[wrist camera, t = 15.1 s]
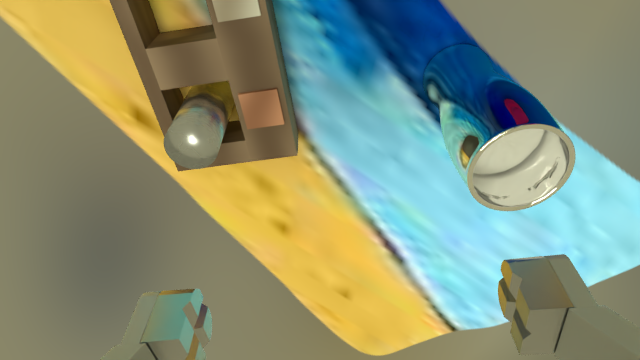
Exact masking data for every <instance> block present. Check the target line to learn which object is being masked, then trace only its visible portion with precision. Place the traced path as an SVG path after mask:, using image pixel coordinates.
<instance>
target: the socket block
mask: <svg viewBox="0 0 640 360" xmlns="http://www.w3.org/2000/svg"><path fill="white" fill-rule="evenodd" d="M206 2H207V6H208V9H209V13H210V16H211V20H212V24H213V25H208V26H202V27H196V28H189V29H183V30H176V31H170V32H164V33H160V32H159V29H158V27H157V24H156V21H155V18H154V15H153V12H152V10H151V7H150V4H149V1H148V0H110V3H111V5H112V8H113V10H114V13H115V15H116V18H117V20H118V23H119V25H120V28H121V30H122V33H123V35H124V38H125V40H126V43H127V45H128V47H129V50H130V52H131V55H132V57H133V60H134V62H135V65H136V67H137V70H138V72H139V75H140V77H141V80H142V82H143V85H144V87H145V90H146V92H147V95H148V97H149V100H150V102H151V105H152V107H153V110H154V112H155V115H156V117H157V120H158V122H159V125H160V127H161V130H162V132H163V135H164V137H165V135H166V133H167V131H168V129H169V127H170V125H171V124H172V122H173V120H174V118H175V116H176V114H177V113H178V111H179V109H180V107H181V105H182V103H183V101H184V100H183V97H182V95H181V92H180V89H179V88H180V87H187V86H194V85H201V84H208V83H214V82H221V81H228V80H229V84H230V88H231V91H232V95H233V98H234V102H235V105H236V109H237V112H238V116H239V120H240V121H233V122H228V124H227V127H226V130H225V133H224V136H223V140H222V143H221V146H220V149H219V152H218V155H217V157H216V159H215V161H214V162H213V163H212V164H210V165H209V166H207V167H214V166H221V165H229V164H236V163H244V162H251V161H259V160H266V159H274V158H281V157H289V156H296V155H297V152H298V129H297V124H296V119H295V114H294V109H293V104H292V99H291V94H290V89H289V84H288V79H287V74H286V69H285V64H284V59H283V54H282V48H281V43H280V38H279V33H278V28H277V23H276V18H275V13H274V8H273V3H272V0H206ZM175 165H176V167H177V170H178V171H184V170H191V169H190V168H186V167H183V166H181V165H179V164H177V163H175ZM204 168H206V167H204Z"/></svg>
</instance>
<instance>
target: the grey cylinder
mask: <svg viewBox="0 0 640 360" xmlns="http://www.w3.org/2000/svg"><path fill="white" fill-rule="evenodd" d="M234 103H235V102H234V98H233V95H232V91H231V88H230V84H229V82H227V81H221V82H214V83H208V84H201V85H194V86H192V87H191V89H190V90H189V92H188V94H187V96H186V98H185V100H184V101H183V103H182V105H181V107H180V109H179V111H178V113H177V114H176V116H175V118H174V120H173V122H172V124H171V125H170V127H169V129H168V131H167V133H166V135H165V137H164V148H165V151H166V153H167V154H168V156H169V157H170V158H171V159H172V160H173V161H174V162H175V163H177V164H179V165H181V166H183V167H186V168H190V169H200V168H204V167H207V166H209V165H210V164H212V163H213V162H214V161H215V159H216V157H217V155H218V152H219V149H220V146H221V143H222V140H223V136H224V133H225V130H226V127H227V124H228V121H229V118H230V115H231V112H232V109H233V106H234Z"/></svg>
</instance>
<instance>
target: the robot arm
mask: <svg viewBox="0 0 640 360" xmlns="http://www.w3.org/2000/svg"><path fill="white" fill-rule="evenodd" d="M501 272H502V274H503V278H502V279H501V280H500V281H499V285H498V296H499V302H500V306H501V310H502V312H503V315H504V317H505V318H506V319H508V320H509V321H510V322H512V325H511V331H510V333H511V335H512V338H513V340H514V343H515V345H516V347H517V350H518V352H519V355H534V354H555V356H556V357H557V358H558V359H559V360H640V327H638V326H636V325H635V324H633V323H631V322H630V321H628V320H627V319H625V318H624V317H622V316H621V315H619V314H617V313H616V312H614V311H613V310H611V309H609V308H608V307H606V306H598V304H597V303H596V301H595V299H594V298H593V296H592V295H591V293H590V291H589V290H588V288H587V286H586V285H585V283H584V282H583V280H582V278H581V277H580V275H579V274H578V272H577V270H576V269H575V267H574V265H573V264H572V262H571V261H570V259H569V257H567V256H566V255H565V254H563V255H552V256H544V257H542V256H539V257H529V258H520V259H510V260H504V261H503V262H502V265H501ZM202 300H203V296H202V293H201V292H200V290H199V289H186V290H171V291H158V292H145V293H143V295H142V296H141V297H140V298H139V301H138V303H137V305H136V308H135V310H134V313H133V315H132V318H131V320H130V323H129V325H128V328H127V330H126V333H125V335H124V337H123V340H122V342H121V345H116V346H114V347H113V348H112V349H111V350H110V351H109V352H108V353H107V354H105V355H104V356H103V357H102V358H101V359H100V360H206V354H205V352H204V350H203V348H204V347H205V346H206V344H207V343H208V342H209V341H210V338H211V332H212V318H211V313H210V311H209V308H208V307H207V306H205V305H204V304H202Z"/></svg>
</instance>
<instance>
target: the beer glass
mask: <svg viewBox="0 0 640 360" xmlns="http://www.w3.org/2000/svg"><path fill="white" fill-rule="evenodd" d="M423 88H424V92H425V94H426V96H427V97H428V99H429V100H430V101H431V102H432V103H433V104H434V105H435V106H436V107H437V108H438V109H439V113H440V121H441V128H442V134H443V138H444V143H445V146H446V149H447V151H448V154H449V156H450V158H451V160H452V162H453V164H454V166H455V168H456V170H457V171H458V173H459V175H460V176H461V178H462V179H463V181H464V182H465V184H466V185H467V187H468V188H469V190H470V192H471V194H472V196H473V197H474V198H475V199H476V200H477V201H478V202H479V203H480V204H482V205H484V206H486V207H488V208H491V209H494V210H499V211H516V210H521V209H526V208H529V207H532V206H534V205H537V204H539V203H541V202H543V201H545V200H546V199H548V198H549V197H551V196H552V195H553V194H555V193H556V192H557V191H558V190H559V189H560V188H561V187H562V186H563V185H564V184H565V182H566V181H567V179H568V178H569V176H570V174H571V172H572V170H573V167H574V163H575V149H574V146H573V143H572V141H571V140H570V138H569V137H568V136H567V135H566V134H565V133H564V131H563V130H562V128H561V127H560V126H559V124H558V123H557V121H556V120H555V119H554V117H553V116H552V115H551V113H550V112H549V111H548V110H547V109H546V108H545V106H544V105H543V104H542V103H541V102H540V101H539V100H538V99H537V98H536V97H535V96H534V95H532V94H531V93H530V92H529V91H528V90H526V89H525V88H523V87H522V86H520V85H519V84H517V83H515V82H513V81H511V80H510V79H508V78H506V77H504V76H502V75H500V74H498V73H496V72H495V71H494V69H493V66H492V63H491V61H490V59H489V57H488V56H487V54H486V53H485V52H484V51H483V50H481V49H480V48H478V47H476V46H473V45H470V44H457V45H453V46H450V47H447V48H445V49H443V50H442V51H440V52H439V53H437V54H436V55H435V56H434V57H433V58H432V59H431V61H430V62H429V64H428V65H427V67H426V69H425V72H424V76H423Z"/></svg>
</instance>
